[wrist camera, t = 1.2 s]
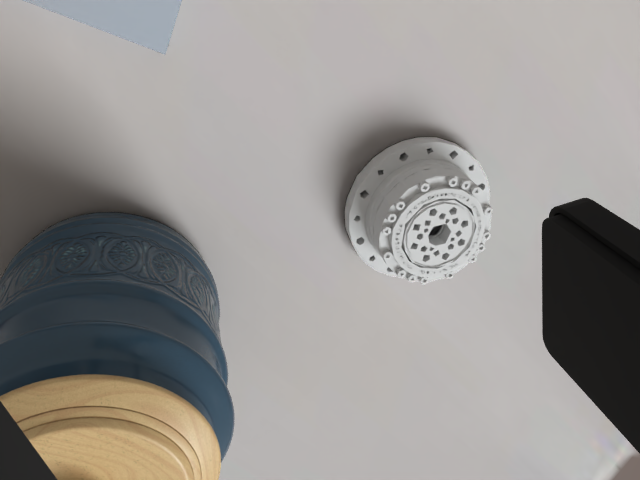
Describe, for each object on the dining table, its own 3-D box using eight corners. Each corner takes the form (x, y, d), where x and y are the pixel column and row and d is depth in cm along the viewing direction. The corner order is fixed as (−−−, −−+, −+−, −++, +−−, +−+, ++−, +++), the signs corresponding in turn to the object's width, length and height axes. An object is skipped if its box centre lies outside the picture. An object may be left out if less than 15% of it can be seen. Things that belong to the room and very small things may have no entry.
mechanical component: (384, 112, 35) (319, 247, 38) (410, 134, 31) (335, 281, 35) (506, 163, 39) (436, 281, 42) (542, 189, 35) (462, 316, 38)
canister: (-38, 239, 32) (-218, 507, 17) (184, 181, 34) (197, 383, 19) (55, 397, 39) (-16, 691, 24) (237, 343, 40) (279, 588, 25)
